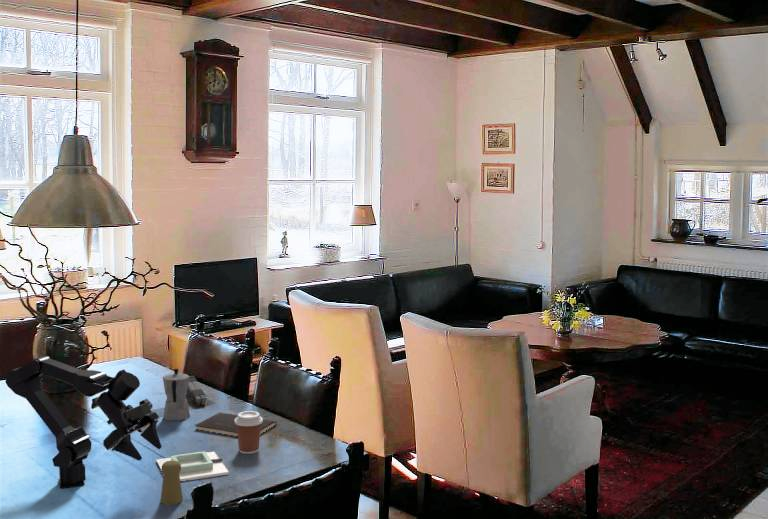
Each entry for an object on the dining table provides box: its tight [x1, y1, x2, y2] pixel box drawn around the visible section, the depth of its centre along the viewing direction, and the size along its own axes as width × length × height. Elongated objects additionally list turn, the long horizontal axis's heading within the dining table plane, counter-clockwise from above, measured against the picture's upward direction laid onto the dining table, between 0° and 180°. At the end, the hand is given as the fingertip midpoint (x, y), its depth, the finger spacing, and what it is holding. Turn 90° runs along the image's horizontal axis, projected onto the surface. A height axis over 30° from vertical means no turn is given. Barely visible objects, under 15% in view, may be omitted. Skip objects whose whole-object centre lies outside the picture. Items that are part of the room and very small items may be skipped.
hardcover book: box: [194, 412, 277, 437], centre depth 283 cm, size 16×23×2 cm
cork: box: [160, 460, 184, 506], centre depth 222 cm, size 6×6×11 cm
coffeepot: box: [162, 368, 191, 422], centre depth 291 cm, size 15×9×18 cm, turn 9°
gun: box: [187, 375, 207, 407], centre depth 315 cm, size 4×20×10 cm, turn 28°
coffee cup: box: [234, 410, 264, 455], centre depth 261 cm, size 9×9×12 cm
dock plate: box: [155, 450, 230, 482], centre depth 246 cm, size 18×18×3 cm
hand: (150, 453), depth 223 cm, fingers open, 9 cm apart
